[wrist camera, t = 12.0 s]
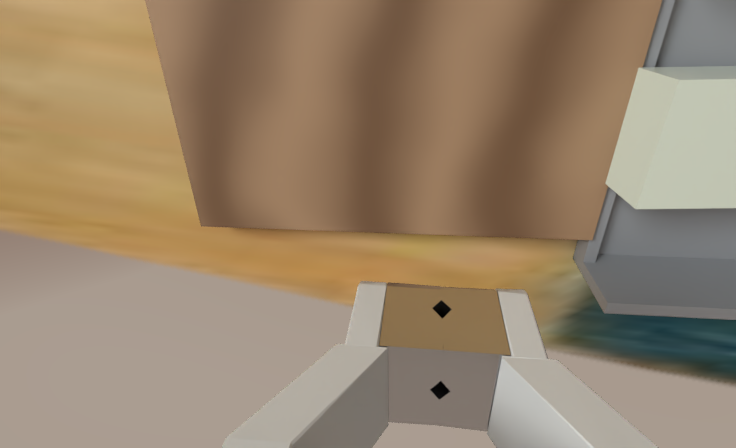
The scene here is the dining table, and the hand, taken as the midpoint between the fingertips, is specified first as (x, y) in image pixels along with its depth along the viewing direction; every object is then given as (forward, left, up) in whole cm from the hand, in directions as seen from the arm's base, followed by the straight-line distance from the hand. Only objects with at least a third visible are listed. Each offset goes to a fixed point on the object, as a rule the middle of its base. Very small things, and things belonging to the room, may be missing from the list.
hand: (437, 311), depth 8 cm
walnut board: (+2, 0, -14) cm, 14 cm away
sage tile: (-11, 0, -12) cm, 16 cm away
